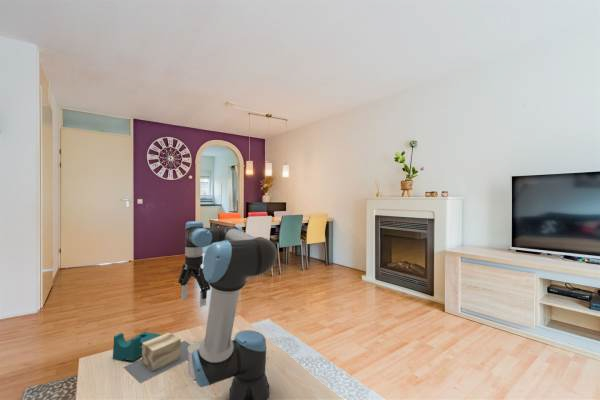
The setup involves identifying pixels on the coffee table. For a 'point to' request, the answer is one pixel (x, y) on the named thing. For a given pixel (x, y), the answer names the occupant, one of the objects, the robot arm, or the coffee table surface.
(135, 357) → the teal l-shaped bracket
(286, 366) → the coffee table surface
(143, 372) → the board
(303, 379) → the coffee table surface
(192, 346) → the candle holder
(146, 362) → the block
